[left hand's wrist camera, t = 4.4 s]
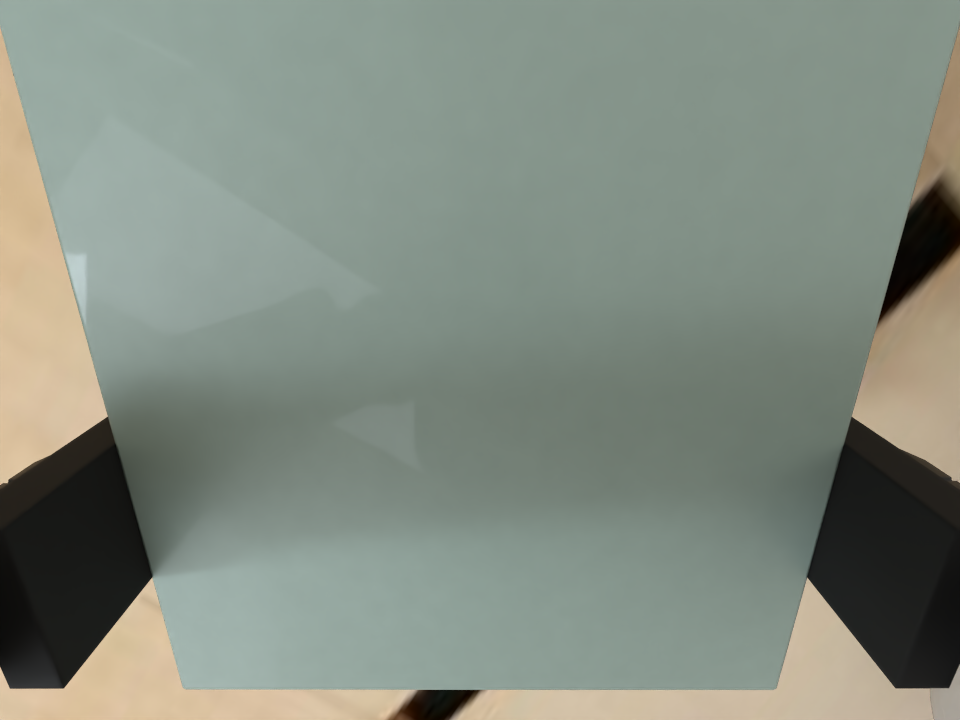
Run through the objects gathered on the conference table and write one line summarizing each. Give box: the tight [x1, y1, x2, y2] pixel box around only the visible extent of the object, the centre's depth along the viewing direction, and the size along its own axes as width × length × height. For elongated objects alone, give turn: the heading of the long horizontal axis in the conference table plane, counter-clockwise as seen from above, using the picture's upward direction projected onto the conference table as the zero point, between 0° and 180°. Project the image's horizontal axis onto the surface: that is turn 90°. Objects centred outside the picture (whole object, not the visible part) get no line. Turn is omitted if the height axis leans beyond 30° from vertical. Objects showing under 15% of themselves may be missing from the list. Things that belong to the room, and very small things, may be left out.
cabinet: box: [0, 0, 960, 690], centre depth 12 cm, size 20×12×10 cm, turn 0°
